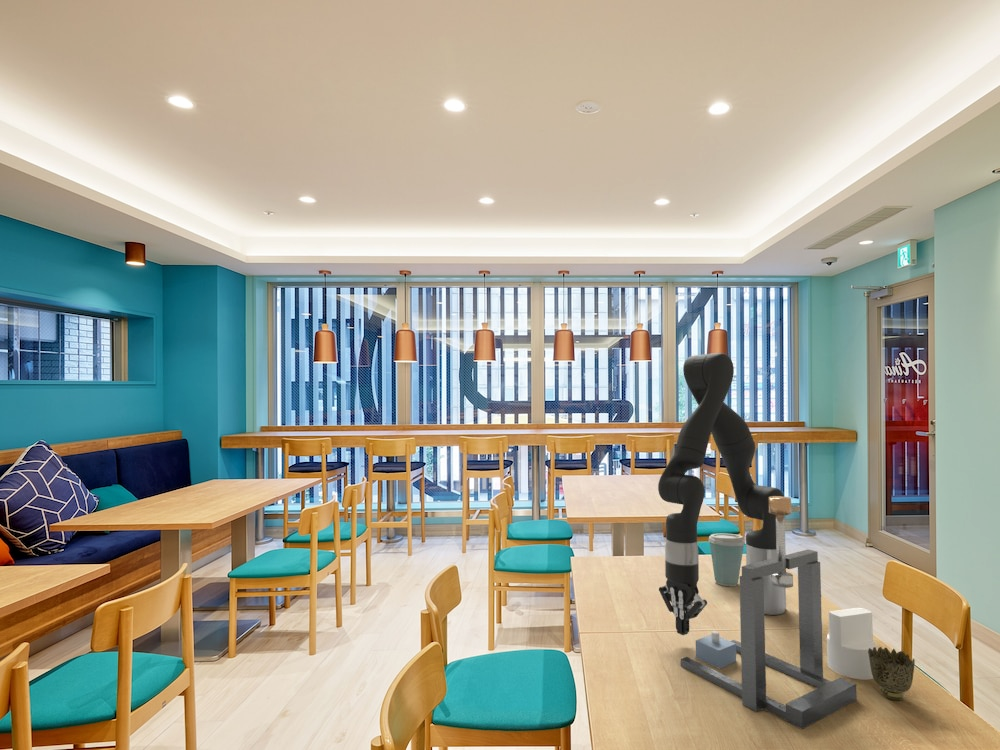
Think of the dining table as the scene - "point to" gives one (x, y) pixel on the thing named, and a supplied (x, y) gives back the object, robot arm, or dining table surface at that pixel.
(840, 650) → the base with upright slab
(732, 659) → the housing block
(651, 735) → the dining table surface
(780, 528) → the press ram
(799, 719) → the press frame
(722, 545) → the disposable coffee cup
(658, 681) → the dining table surface
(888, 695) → the cup
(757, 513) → the robot arm
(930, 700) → the dining table surface
